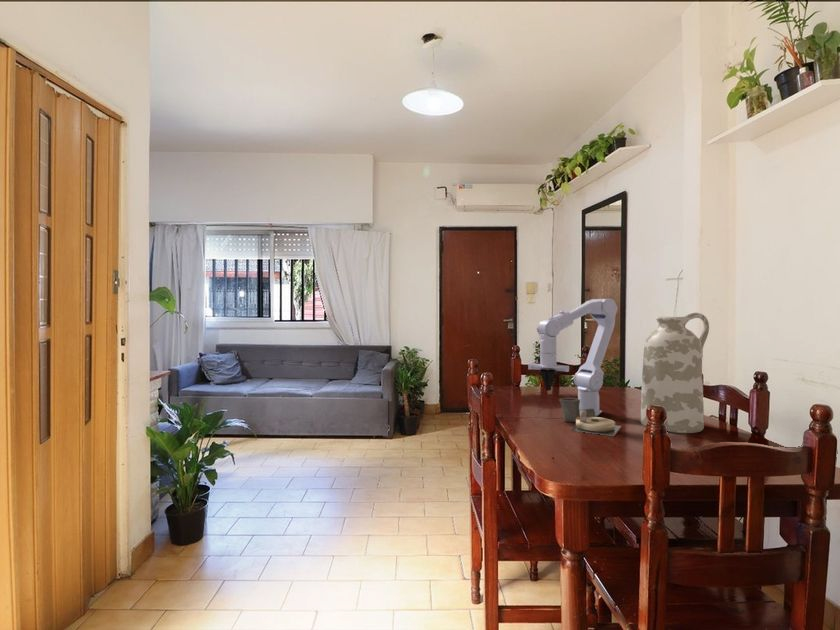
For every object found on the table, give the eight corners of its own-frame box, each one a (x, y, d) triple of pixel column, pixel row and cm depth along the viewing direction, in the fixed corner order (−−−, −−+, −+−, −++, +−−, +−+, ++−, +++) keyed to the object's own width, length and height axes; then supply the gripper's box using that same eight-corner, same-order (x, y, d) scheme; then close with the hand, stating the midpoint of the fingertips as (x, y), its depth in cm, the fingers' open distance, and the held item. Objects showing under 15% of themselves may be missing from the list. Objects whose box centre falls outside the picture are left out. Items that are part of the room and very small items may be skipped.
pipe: (597, 422, 164) (597, 399, 164) (564, 424, 161) (564, 400, 161) (587, 418, 170) (587, 396, 170) (555, 420, 167) (555, 397, 167)
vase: (644, 431, 151) (644, 312, 151) (637, 418, 169) (637, 312, 168) (716, 436, 145) (717, 312, 144) (701, 422, 162) (702, 312, 162)
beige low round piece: (568, 425, 156) (568, 409, 156) (590, 420, 163) (590, 405, 162) (600, 433, 146) (600, 415, 146) (622, 427, 153) (622, 411, 153)
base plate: (581, 422, 163) (581, 421, 163) (621, 426, 156) (621, 426, 156) (571, 430, 151) (571, 430, 151) (614, 436, 145) (614, 435, 145)
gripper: (525, 352, 171) (525, 390, 171) (565, 354, 163) (565, 393, 164) (531, 351, 177) (531, 387, 177) (570, 353, 169) (570, 390, 170)
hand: (548, 390), depth 171 cm, fingers closed
